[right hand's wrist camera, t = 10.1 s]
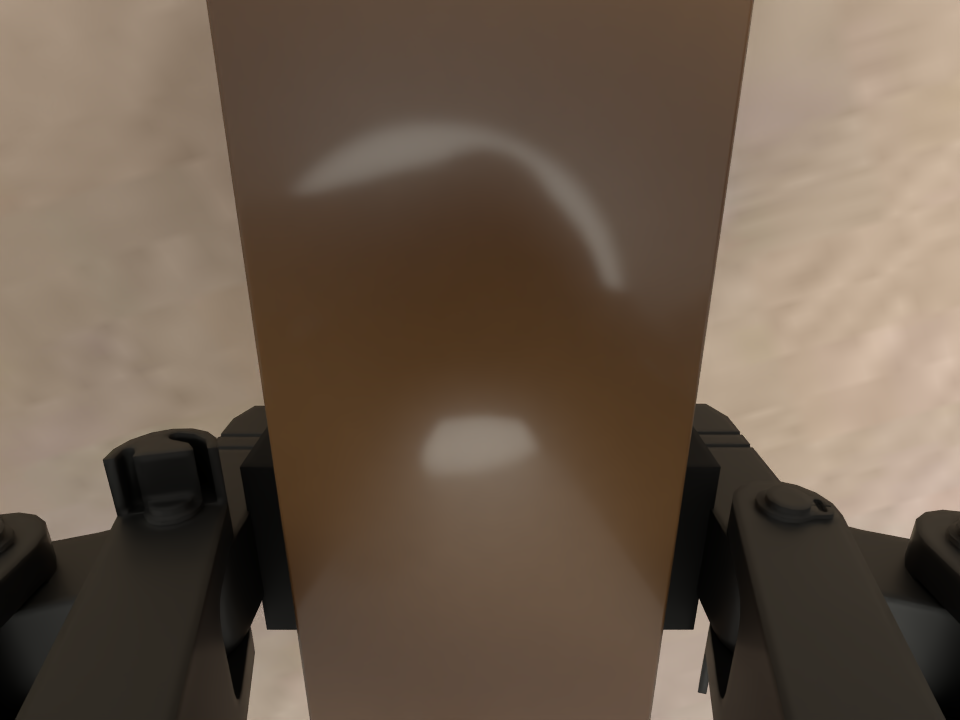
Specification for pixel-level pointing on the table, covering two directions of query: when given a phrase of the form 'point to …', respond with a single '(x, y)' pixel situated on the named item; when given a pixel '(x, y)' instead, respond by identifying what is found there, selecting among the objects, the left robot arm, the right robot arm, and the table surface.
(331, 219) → the bar
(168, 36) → the table surface
